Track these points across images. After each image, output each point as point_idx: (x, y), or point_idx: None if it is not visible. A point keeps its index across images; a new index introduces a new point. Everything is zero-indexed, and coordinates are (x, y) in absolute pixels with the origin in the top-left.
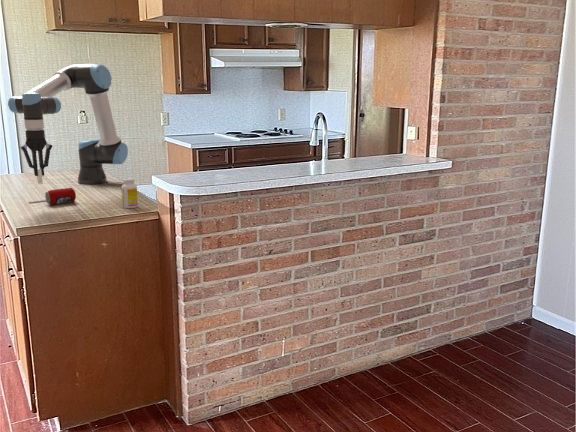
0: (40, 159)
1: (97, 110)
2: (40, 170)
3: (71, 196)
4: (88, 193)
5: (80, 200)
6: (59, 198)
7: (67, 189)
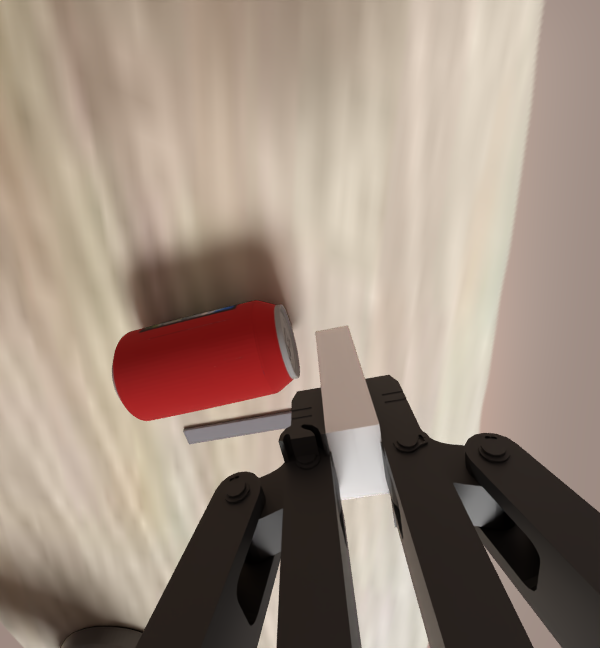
0: (340, 616)
1: None
2: (337, 414)
3: (143, 330)
4: (105, 498)
5: None
6: (217, 311)
7: (149, 375)
